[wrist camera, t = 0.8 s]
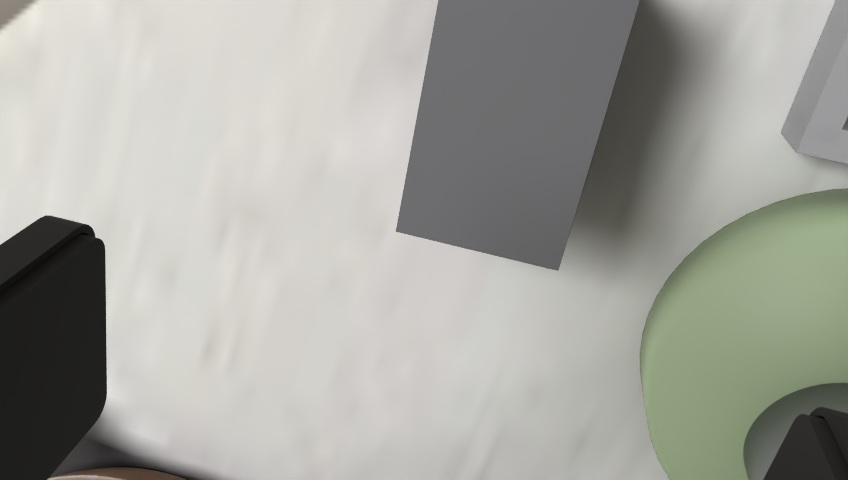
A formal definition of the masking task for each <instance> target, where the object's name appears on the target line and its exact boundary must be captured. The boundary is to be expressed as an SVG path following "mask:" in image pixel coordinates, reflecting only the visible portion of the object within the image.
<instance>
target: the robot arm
mask: <svg viewBox="0 0 848 480" xmlns="http://www.w3.org/2000/svg"><path fill="white" fill-rule="evenodd" d="M106 395H107V376H106V284H105V246H104V243H103V241H102V240H101V239H98V238H95V233H94V231H93V229H92V228H91V227H90V226H89V225H86V224H82V223H78V222H74V221H70V220H66V219H62V218H58V217H54V216H44V217H42V218H40V219H38V220H37V221H35V222H34V223H32V224H31V225H29V226H28V227H26V228H25V229H23V230H22V231H20V232H19V233H17V234H16V235H14V236H13V237H11V238H10V239H8V240H7V241H5V242H4V243H2V244H1V245H0V480H47V479H48V478H49V477H50V476H51V474H52V473H53V472H54V471H55V470H56V469H57V467H58V466H59V465H60V464H61V463H62V461H63V460H64V459H65V458H66V457H67V456H68V454H69V453H70V452H71V451H72V450H73V448H74V447H75V446H76V445H77V444H78V442H79V441H80V440H81V439H82V438H83V437H84V435H85V434H86V433H87V432H88V431H89V429H90V428H91V427H92V426H93V425H94V424H95V422H96V421H97V420H98V418H99V417H100V415H101V413H102V411H103V408H104V405H105V401H106ZM763 480H848V413H845V412H841V411H837V410H833V409H829V408H825V407H818V408H816V409H815V410H814V411H812V412H811V414H810V415H806V414H800V415H799V416H797V417H796V418H795V420H794V422H793V423H792V425H791V427H790V429H789V431H788V433H787V435H786V437H785V438H784V440H783V442H782V444H781V446H780V448H779V450H778V452H777V454H776V456H775V458H774V460H773V462H772V463H771V465H770V467H769V469H768V471H767V473H766V475H765V477H764V479H763Z"/></svg>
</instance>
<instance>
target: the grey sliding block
mask: <svg viewBox="0 0 848 480" xmlns="http://www.w3.org/2000/svg"><path fill="white" fill-rule="evenodd" d="M639 1H640V0H439V1H438V6H437V11H436V17H435V22H434V28H433V33H432V39H431V44H430V49H429V55H428V60H427V66H426V71H425V76H424V82H423V87H422V93H421V98H420V104H419V109H418V114H417V120H416V125H415V131H414V136H413V142H412V147H411V152H410V158H409V163H408V169H407V174H406V180H405V185H404V190H403V196H402V201H401V207H400V212H399V218H398V223H397V228H396V232H400V233H404V234H408V235H412V236H417V237H421V238H425V239H429V240H433V241H437V242H441V243H446V244H450V245H454V246H458V247H462V248H466V249H470V250H475V251H479V252H483V253H487V254H491V255H495V256H499V257H503V258H508V259H512V260H516V261H520V262H524V263H528V264H532V265H537V266H541V267H545V268H549V269H553V270H557V271H558V270H559V266H560V263H561V260H562V256H563V253H564V250H565V247H566V243H567V240H568V237H569V233H570V230H571V227H572V223H573V220H574V217H575V213H576V210H577V207H578V203H579V200H580V197H581V194H582V190H583V187H584V184H585V180H586V177H587V174H588V170H589V167H590V164H591V160H592V157H593V154H594V150H595V147H596V144H597V141H598V137H599V134H600V131H601V127H602V124H603V121H604V117H605V114H606V111H607V107H608V104H609V101H610V98H611V94H612V91H613V88H614V84H615V81H616V78H617V74H618V71H619V68H620V64H621V61H622V58H623V54H624V51H625V48H626V45H627V41H628V38H629V35H630V31H631V28H632V25H633V21H634V18H635V15H636V11H637V8H638V5H639Z"/></svg>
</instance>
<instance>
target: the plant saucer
mask: <svg viewBox="0 0 848 480" xmlns="http://www.w3.org/2000/svg"><path fill="white" fill-rule="evenodd" d="M47 480H186V479H183V478H181V477H178V476H174V475H171V474H167V473H163V472H159V471H154V470H149V469H141V468H130V467H111V468H98V469H90V470H82V471H76V472H71V473H66V474H61V475H57V476H53V477H50V478H48V479H47Z"/></svg>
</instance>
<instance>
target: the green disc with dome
mask: <svg viewBox="0 0 848 480" xmlns="http://www.w3.org/2000/svg"><path fill="white" fill-rule="evenodd" d="M781 134H782V135H783V136H784V138H785V139H786V140H787V141H788V143H789V144H790V145H791V147H792V148H793V149H794V150H795V152H797V153H801V154H805V155H810V156H814V157H819V158H823V159H828V160H832V161H836V162H841V163H845V164H848V0H836V1H835V3H834V6H833V8H832V11H831V13H830V15H829V18H828V20H827V23H826V25H825V27H824V30H823V32H822V35H821V37H820V39H819V42H818V44H817V47H816V49H815V51H814V54H813V56H812V59H811V61H810V63H809V66H808V68H807V71H806V73H805V75H804V78H803V80H802V83H801V85H800V88H799V90H798V92H797V95H796V97H795V100H794V102H793V104H792V107H791V109H790V112H789V114H788V116H787V119H786V121H785V124H784V126H783V128H782V131H781ZM640 374H641V381H642V388H643V395H644V402H645V409H646V416H647V423H648V428H649V433H650V438H651V442H652V444H653V447H654V450H655V452H656V455H657V458H658V460H659V462H660V463H661V465H662V467H663V469H664V470H665V472H666V474H667V476H668V477H669V479H670V480H763V479H764V477H765V475H766V473H767V471H768V469H769V467H770V465H771V463H772V462H773V460H774V458H775V456H776V454H777V452H778V450H779V448H780V446H781V444H782V442H783V440H784V438H785V437H786V435H787V433H788V431H789V429H790V427H791V425H792V423H793V422H794V420H795V418H796V417H797V416H799V415H800V414H806V415H810V414H811V412H812V411H814V410H815V409H816V408H818V407H825V408H829V409H833V410H837V411H841V412H845V413H848V188H847V189H832V190H826V191H820V192H815V193H809V194H803V195H799V196H796V197H793V198H789V199H786V200H782V201H779V202H775V203H773V204H770V205H768V206H765V207H763V208H761V209H758V210H756V211H753V212H751V213H749V214H747V215H745V216H743V217H741V218H739V219H738V220H736V221H734V222H732V223H730V224H729V225H727V226H725V227H723V228H722V229H721V230H719V231H718V232H716V233H715V234H714V235H712V236H711V237H709V238H708V239H707V240H705V241H704V242H703V243H701V244H700V245H699V246H698V247H697V248H696V249H695V250H694V251H693V252H691V253H690V254H689V255H688V256H687V257H686V258H685V259H684V260H683V261H682V262H681V264H680V265H679V266H678V267H677V268H676V269H675V271H674V272H673V273H672V274H671V275H670V276H669V278H668V279H667V281H666V283H665V284H664V286H663V287H662V289H661V290H660V292H659V293H658V295H657V297H656V299H655V301H654V303H653V305H652V308H651V310H650V312H649V314H648V317H647V320H646V324H645V327H644V331H643V334H642V341H641V349H640Z"/></svg>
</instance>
